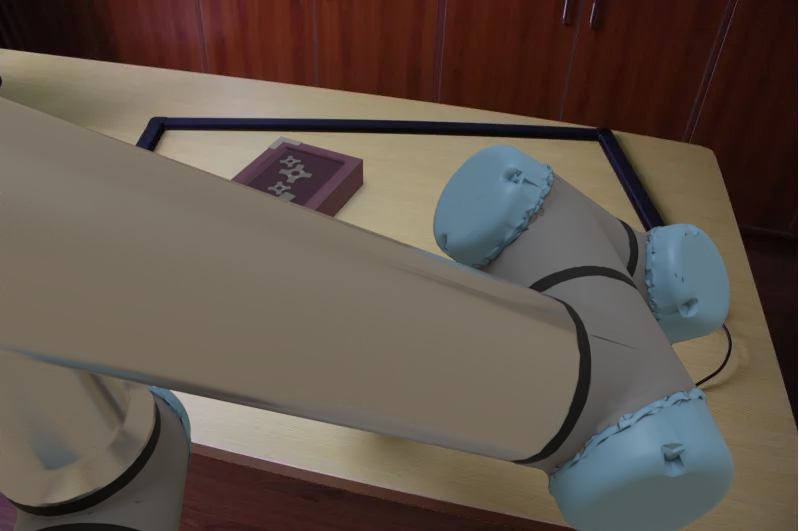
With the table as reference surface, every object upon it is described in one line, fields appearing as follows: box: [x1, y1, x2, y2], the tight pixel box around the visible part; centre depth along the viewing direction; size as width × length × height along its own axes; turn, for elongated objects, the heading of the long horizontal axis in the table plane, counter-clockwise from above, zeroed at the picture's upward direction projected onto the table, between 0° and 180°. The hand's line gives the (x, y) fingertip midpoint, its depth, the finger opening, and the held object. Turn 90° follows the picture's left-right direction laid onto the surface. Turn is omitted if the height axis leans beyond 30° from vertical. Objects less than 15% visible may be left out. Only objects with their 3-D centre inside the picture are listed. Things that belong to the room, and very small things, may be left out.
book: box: [230, 136, 364, 218], centre depth 103 cm, size 25×16×5 cm, turn 156°
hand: (364, 359), depth 70 cm, fingers closed on supplement bottle, 5 cm apart
